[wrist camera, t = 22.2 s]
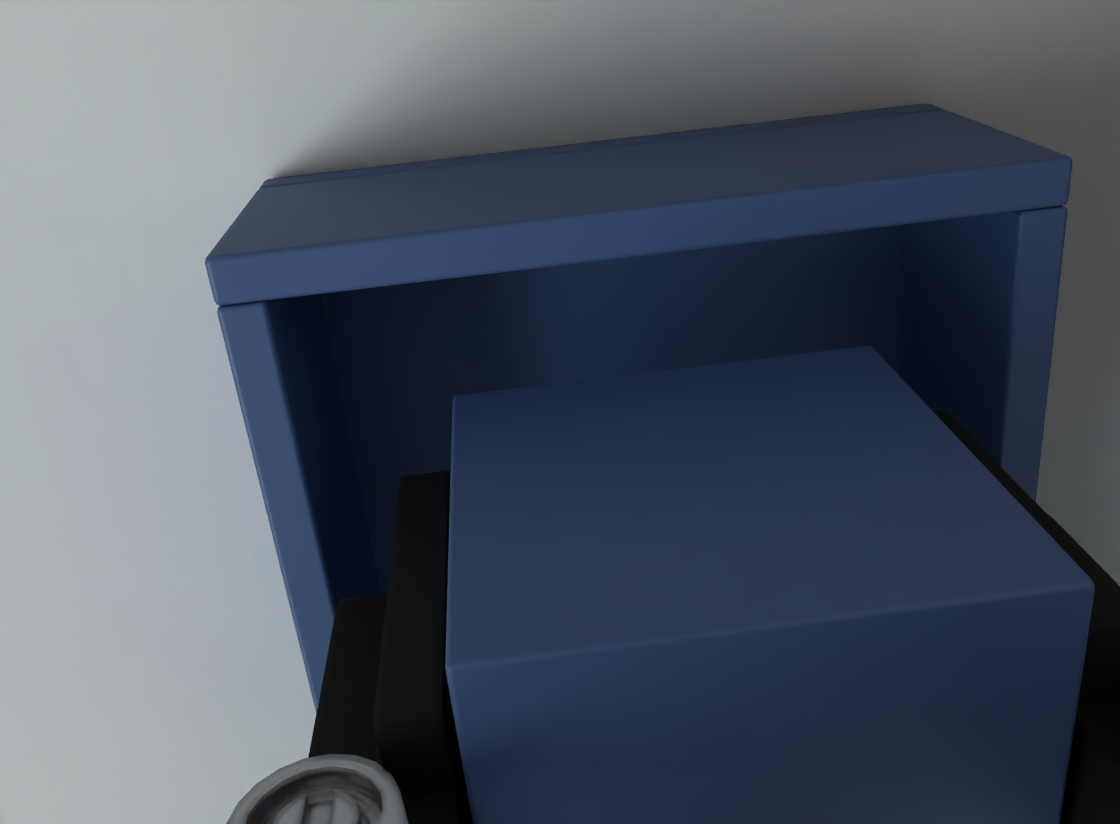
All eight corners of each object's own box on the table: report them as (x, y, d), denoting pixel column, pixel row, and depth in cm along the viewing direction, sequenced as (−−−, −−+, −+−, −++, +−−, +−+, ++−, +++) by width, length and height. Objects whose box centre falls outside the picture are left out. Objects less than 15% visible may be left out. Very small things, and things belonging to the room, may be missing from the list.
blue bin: (263, 178, 13) (201, 258, 10) (931, 101, 13) (1075, 156, 10) (379, 710, 17) (360, 894, 14) (903, 640, 17) (1004, 803, 14)
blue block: (451, 393, 11) (443, 667, 7) (870, 343, 11) (1099, 583, 7) (502, 722, 13) (519, 1086, 9) (860, 676, 13) (1034, 1012, 9)
